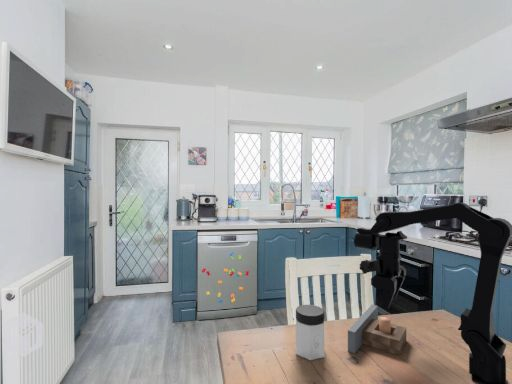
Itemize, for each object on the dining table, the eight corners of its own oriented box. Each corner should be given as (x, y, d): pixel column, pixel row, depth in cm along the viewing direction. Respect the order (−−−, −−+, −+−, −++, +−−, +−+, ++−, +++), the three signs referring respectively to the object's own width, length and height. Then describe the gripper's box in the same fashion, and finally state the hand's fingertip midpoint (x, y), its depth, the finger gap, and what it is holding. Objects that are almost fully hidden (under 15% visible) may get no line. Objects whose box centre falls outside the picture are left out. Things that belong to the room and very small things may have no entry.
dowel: (391, 341, 86) (391, 318, 86) (389, 346, 83) (389, 322, 83) (380, 338, 88) (380, 316, 88) (378, 342, 85) (377, 319, 85)
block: (406, 340, 86) (406, 327, 86) (399, 355, 78) (399, 341, 78) (372, 330, 92) (372, 318, 92) (363, 343, 85) (363, 330, 85)
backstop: (377, 323, 98) (377, 306, 98) (354, 353, 79) (354, 332, 79) (371, 321, 99) (371, 304, 99) (347, 351, 80) (347, 330, 80)
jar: (303, 362, 75) (303, 318, 75) (289, 347, 82) (289, 306, 83) (331, 356, 78) (331, 313, 78) (316, 342, 85) (315, 302, 86)
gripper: (370, 245, 98) (371, 290, 98) (352, 254, 83) (353, 306, 83) (406, 249, 91) (406, 297, 91) (393, 259, 76) (394, 316, 76)
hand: (389, 303), depth 85 cm, fingers open, 9 cm apart
